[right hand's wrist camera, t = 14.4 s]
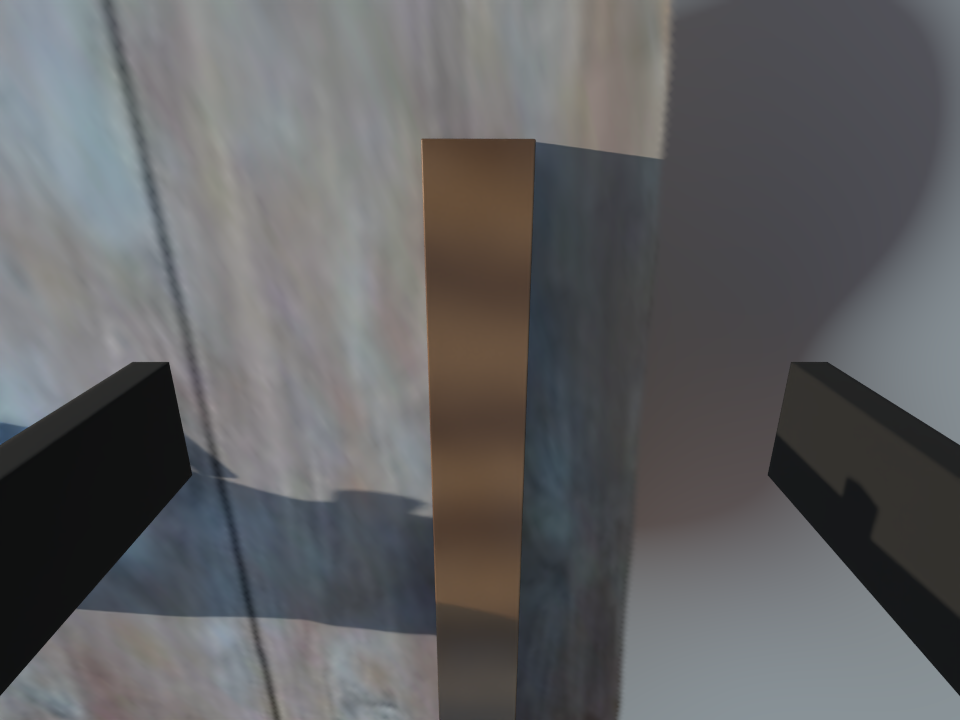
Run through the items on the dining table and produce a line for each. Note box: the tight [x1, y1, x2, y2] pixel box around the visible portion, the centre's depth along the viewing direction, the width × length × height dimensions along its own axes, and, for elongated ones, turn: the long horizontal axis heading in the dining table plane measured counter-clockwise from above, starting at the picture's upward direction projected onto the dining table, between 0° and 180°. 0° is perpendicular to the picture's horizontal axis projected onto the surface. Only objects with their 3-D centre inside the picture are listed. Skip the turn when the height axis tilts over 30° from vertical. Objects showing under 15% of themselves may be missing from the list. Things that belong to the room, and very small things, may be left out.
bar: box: [421, 139, 536, 720], centre depth 43 cm, size 64×6×8 cm, turn 0°
